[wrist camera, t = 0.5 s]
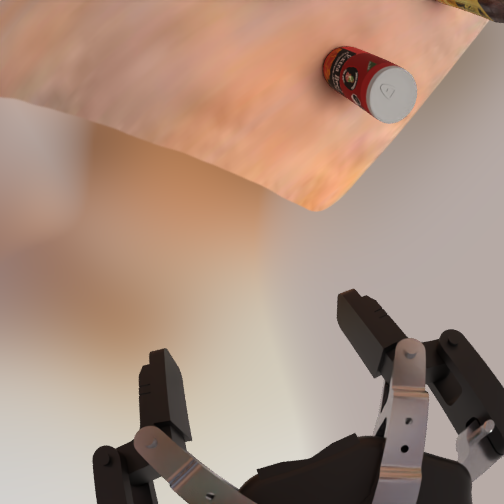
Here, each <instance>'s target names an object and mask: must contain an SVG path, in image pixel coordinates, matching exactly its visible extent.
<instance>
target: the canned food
mask: <svg viewBox="0 0 504 504" xmlns="http://www.w3.org/2000/svg"><path fill="white" fill-rule="evenodd" d="M323 72H324V76H325V79H326V81H327V82H328V84H329V85H330V86H331V87H332V88H333V89H334V90H335V91H337V92H338V93H340V94H342V95H343V96H345V97H346V98H348V99H349V100H351V101H352V102H353V103H355V104H356V105H358V106H359V107H361V108H362V109H363V110H365V111H366V112H368V113H369V114H370V115H372V116H373V117H375V118H376V119H378V120H379V121H381V122H384V123H396V122H398V121H400V120H402V119H404V118H405V117H406V116H407V115H408V114H409V113H410V111H411V110H412V108H413V107H414V104H415V102H416V97H417V86H416V82H415V80H414V78H413V76H412V75H411V74H410V73H409V72H408V71H406V70H405V69H403V68H402V67H400V66H398V65H396V64H393V63H391V62H389V61H387V60H385V59H382V58H380V57H377V56H375V55H373V54H370V53H368V52H365V51H362V50H360V49H357V48H354V47H340V48H337V49H335V50H333V51H332V52H331V53H330V54H329V55H328V56H327V58H326V60H325V62H324V66H323Z"/></svg>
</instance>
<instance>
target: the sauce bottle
mask: <svg viewBox="0 0 504 504" xmlns="http://www.w3.org/2000/svg"><path fill="white" fill-rule="evenodd" d="M435 1H438V2H440V3H443V4H446V5H449V6H453V7H456V8H459V9H462V10H464V11H468V12H470V13H473V14H476V15H479V16H482V17H484V18H486V19H489V20H492V21H494V22H499V23H504V0H435Z"/></svg>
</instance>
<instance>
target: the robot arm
mask: <svg viewBox="0 0 504 504" xmlns="http://www.w3.org/2000/svg"><path fill="white" fill-rule="evenodd" d="M337 321H338V324H339V326H340V328H341V330H342V331H343V333H344V334H345V336H346V337H347V338H348V340H349V341H350V343H351V344H352V346H353V347H354V349H355V350H356V352H357V353H358V355H359V356H360V358H361V359H362V361H363V362H364V364H365V365H366V367H367V368H368V370H369V371H370V373H371V374H372V376H373V377H374V378H376V377H378V376H380V375H382V376H383V378H384V383H383V390H382V396H381V403H380V409H379V414H378V418H377V421H376V425H375V428H374V432H373V436H361V437H357V435H356V434H355V433H354V434H352V435H349V436H347V437H345V438H343V439H341V440H339V441H336V442H334V443H332V444H330V445H329V446H328V447H326V448H325V449H323V450H322V451H321V452H319V453H318V454H316V455H315V456H313V457H312V458H310V459H304V460H296V461H287V462H280V463H277V464H274V465H271V466H267V467H264V468H260V469H257V472H258V474H257V475H255V476H253V477H252V478H250V479H249V480H248V481H246V482H245V483H244V484H243V486H242V487H241V488H240V489H238V488H236V487H234V486H233V485H232V484H230V483H229V482H227V481H226V480H224V479H223V478H221V477H220V476H218V475H217V474H215V473H214V472H213V471H212V470H210V469H209V468H207V467H206V466H205V465H204V464H202V463H201V462H200V461H199V460H197V459H196V458H195V457H194V456H192V455H191V454H190V453H189V452H188V451H187V450H186V445H185V442H187V441H192V437H191V432H190V426H189V420H188V414H187V408H186V401H185V394H184V387H183V380H182V375H181V372H180V369H179V367H178V366H177V364H176V363H175V361H174V359H173V358H172V356H171V355H170V353H169V351H168V350H167V349H166V348H164V349H160V350H156V351H152V352H150V354H149V362H150V364H148V365H144V366H143V367H142V369H141V372H140V374H139V395H140V396H139V407H140V430H139V431H138V432H137V433H136V435H135V437H134V439H133V440H132V441H131V442H129V443H127V444H124V445H122V446H120V447H118V448H116V449H115V448H113V447H111V446H102V447H99V448H98V449H97V450H96V451H95V453H94V455H93V473H94V483H95V491H96V498H97V504H158V501H157V497H156V492H155V488H154V483H153V480H154V479H157V478H159V477H161V476H162V477H163V478H164V479H165V480H166V481H167V482H168V483H169V484H170V487H171V488H172V489H173V490H174V491H175V492H176V493H177V494H178V495H179V496H181V497H182V498H183V499H184V500H185V501H186V502H187V503H189V504H472V497H471V496H472V495H471V490H472V482H473V481H474V480H475V479H477V478H478V477H479V476H480V475H481V474H483V473H484V472H485V471H486V470H487V469H488V468H489V467H491V466H492V465H493V464H494V463H495V462H496V461H497V460H498V459H500V458H502V457H503V456H504V388H503V386H502V385H501V383H500V382H499V381H498V379H497V378H496V377H495V375H494V374H493V373H492V371H491V370H490V368H489V367H488V366H487V364H486V363H485V362H484V361H483V359H482V358H481V357H480V355H479V354H478V353H477V352H476V350H475V349H474V348H473V347H472V345H471V344H470V343H469V342H468V341H467V339H466V338H465V337H464V335H463V334H462V333H460V332H459V331H457V330H453V329H450V330H446V331H444V332H443V333H442V334H441V336H440V338H439V339H437V340H433V341H428V342H420V341H418V340H416V339H413V338H408V337H407V336H406V335H405V334H404V333H403V332H402V330H401V329H400V328H399V327H398V326H397V325H396V323H395V322H394V321H393V320H392V319H391V318H390V316H389V315H387V313H386V312H385V310H384V309H382V307H381V306H380V305H379V304H378V302H377V301H376V300H374V299H372V298H370V297H369V296H367V295H366V296H363V297H361V296H360V295H359V294H358V292H357V291H356V290H355V289H351V290H348V291H346V292H343V293H340V294H339V295H338V301H337ZM425 384H427V385H428V386H429V388H430V389H431V391H432V392H433V394H434V396H435V397H436V398H437V400H438V402H439V403H440V405H441V406H442V408H443V410H444V412H445V413H446V414H447V416H448V418H449V420H450V421H451V423H452V425H453V427H454V428H455V430H456V432H457V433H458V435H459V436H458V437H457V440H456V451H457V452H458V461H454V460H450V459H446V458H443V457H439V456H435V455H432V454H429V453H426V452H424V446H425V438H426V430H427V418H428V406H429V394H428V392H426V391H425Z"/></svg>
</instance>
